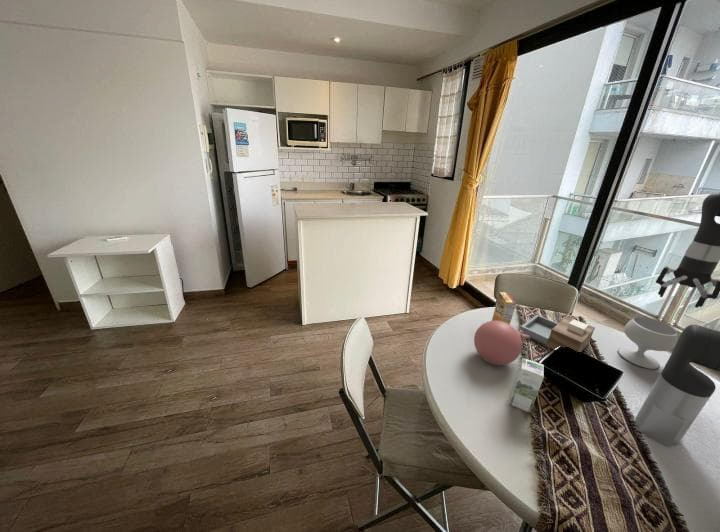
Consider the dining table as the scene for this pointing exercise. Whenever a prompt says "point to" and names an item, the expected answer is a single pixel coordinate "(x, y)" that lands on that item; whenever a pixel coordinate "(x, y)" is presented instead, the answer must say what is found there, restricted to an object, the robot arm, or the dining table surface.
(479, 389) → the dining table surface
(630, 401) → the dining table surface
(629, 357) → the chalice
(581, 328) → the tile
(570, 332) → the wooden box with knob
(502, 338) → the pink egg-shaped ball
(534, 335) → the box
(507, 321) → the candy box
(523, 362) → the syrup box
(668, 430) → the robot arm
